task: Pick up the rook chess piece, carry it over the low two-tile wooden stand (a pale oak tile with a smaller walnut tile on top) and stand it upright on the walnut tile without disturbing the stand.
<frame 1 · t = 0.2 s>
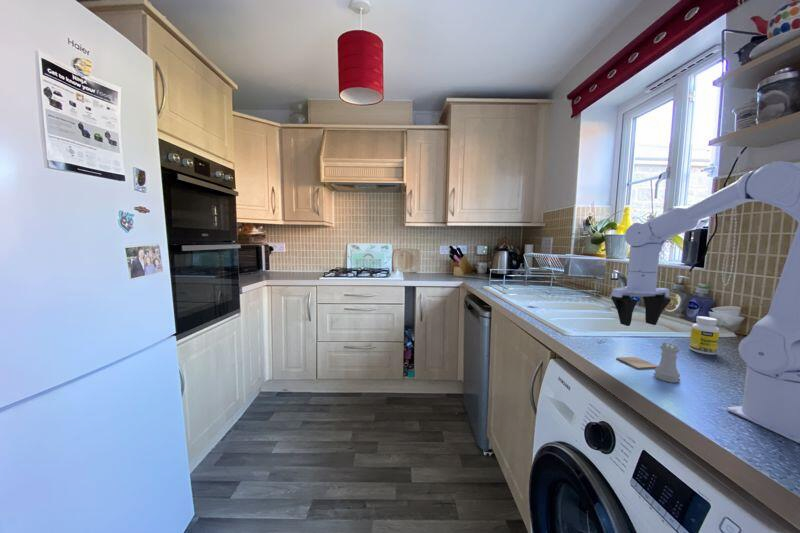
hand: (638, 324, 74), 10 cm above the worktop, tool pointing down, fingers open, 7 cm apart
oak tile: (636, 366, 74), on the worktop, touching walnut tile
walnut tile: (636, 364, 74), on the worktop, touching oak tile
supplement bottle: (702, 352, 83), on the worktop
rook chess piece: (666, 379, 66), on the worktop
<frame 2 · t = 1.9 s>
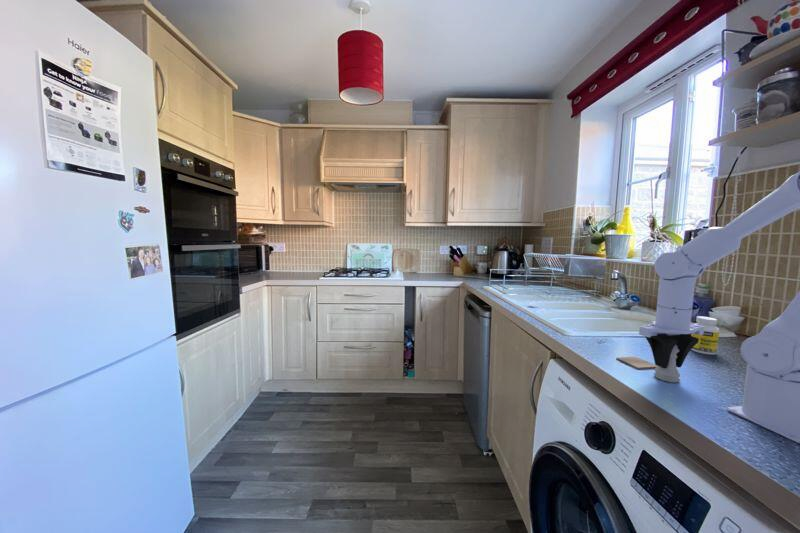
hand: (667, 365, 66), 3 cm above the worktop, tool pointing down, fingers closed on rook chess piece, 3 cm apart
rook chess piece: (666, 379, 66), on the worktop, touching gripper
everything else where it was.
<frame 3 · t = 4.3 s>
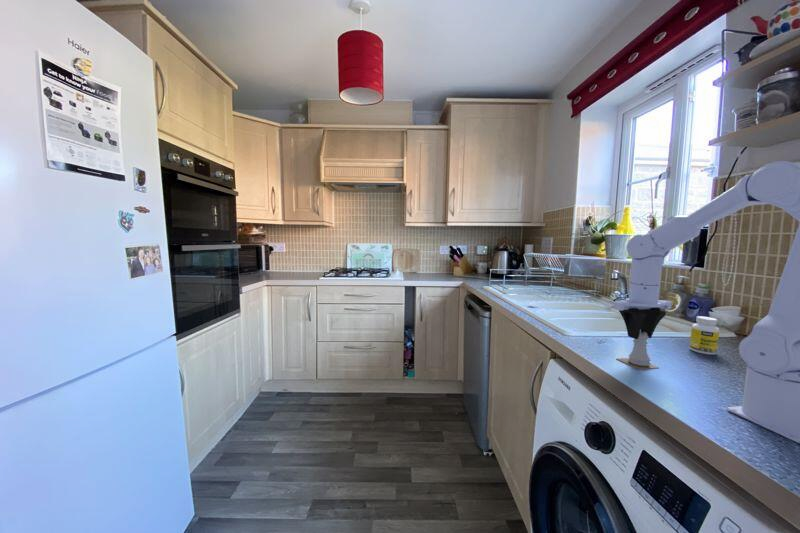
hand: (639, 337, 73), 7 cm above the worktop, tool pointing down, fingers closed on rook chess piece, 3 cm apart
walnut tile: (636, 365, 74), on the worktop, touching oak tile, rook chess piece
rook chess piece: (639, 364, 73), resting on walnut tile, touching gripper
everything else where it was.
when the fingers open (7 cm above the worktop, at t = 4.5 s): rook chess piece stays where it is, resting on walnut tile.
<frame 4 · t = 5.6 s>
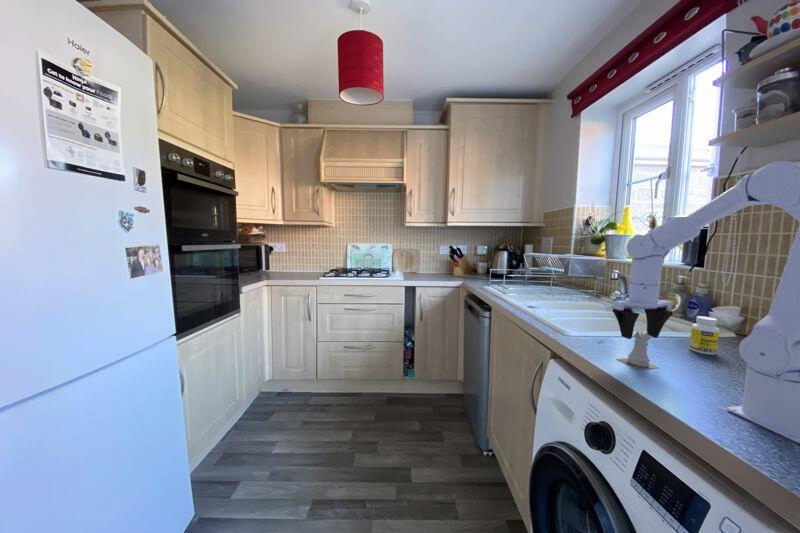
hand: (639, 337, 73), 7 cm above the worktop, tool pointing down, fingers open, 7 cm apart
rook chess piece: (637, 364, 73), resting on walnut tile
everything else where it was.
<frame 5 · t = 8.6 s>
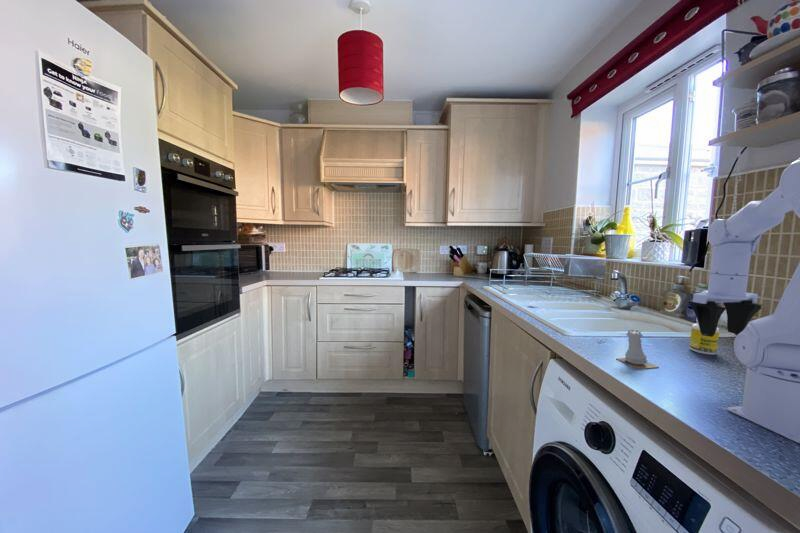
hand: (721, 333, 66), 10 cm above the worktop, tool pointing down, fingers open, 7 cm apart
at the end: rook chess piece 0.1 cm off-centre on the walnut tile, point 0.7 cm above the walnut tile's base; rook chess piece tilted 8°; the gripper is holding nothing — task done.
